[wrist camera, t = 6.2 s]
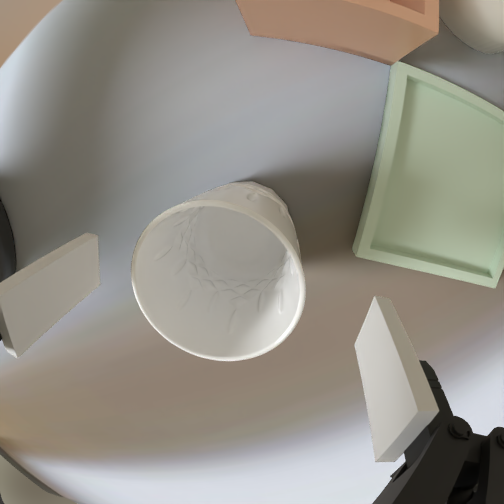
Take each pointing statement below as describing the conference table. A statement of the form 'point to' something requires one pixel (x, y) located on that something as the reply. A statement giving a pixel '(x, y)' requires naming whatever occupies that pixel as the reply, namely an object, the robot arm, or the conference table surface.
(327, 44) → the planter
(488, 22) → the mug
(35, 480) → the conference table surface
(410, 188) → the tray
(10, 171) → the conference table surface
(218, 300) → the white cup
